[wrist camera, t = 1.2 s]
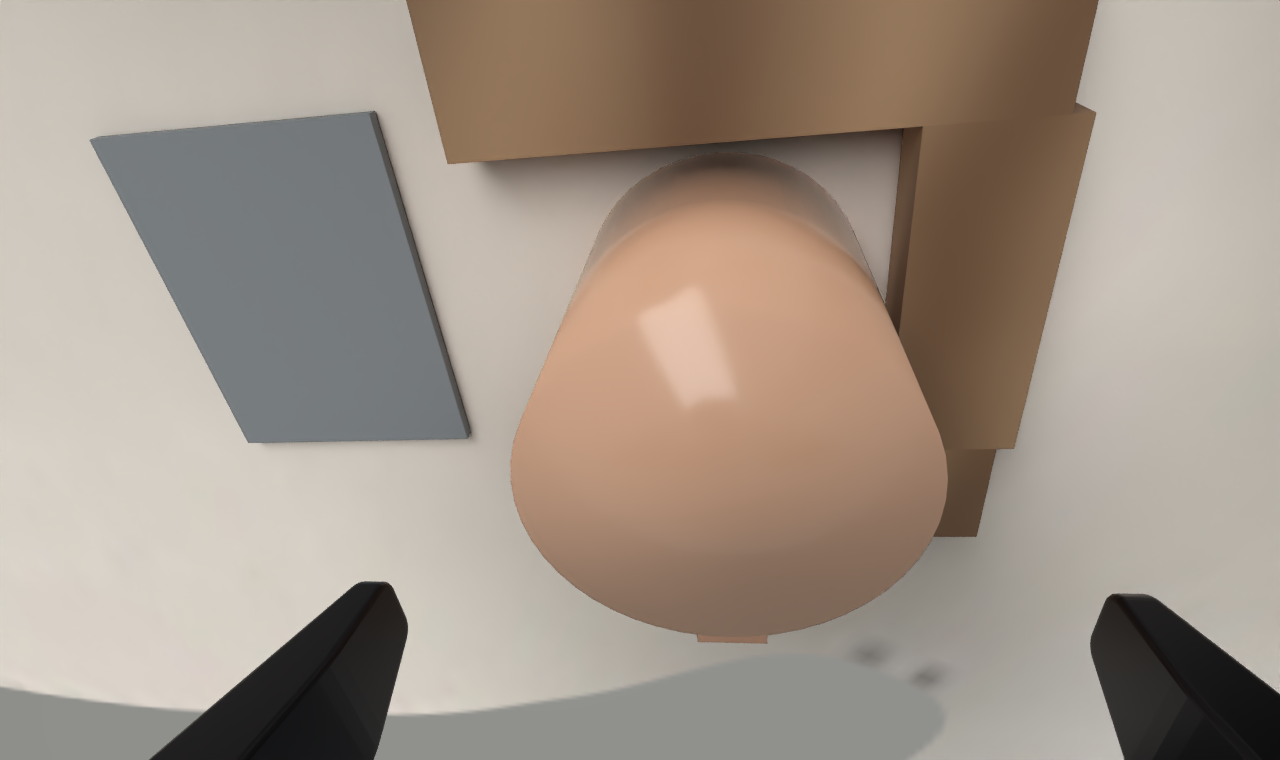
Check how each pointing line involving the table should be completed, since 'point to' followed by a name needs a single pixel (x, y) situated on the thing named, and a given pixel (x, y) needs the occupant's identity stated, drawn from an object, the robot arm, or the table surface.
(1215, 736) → the robot arm
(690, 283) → the peach rounded canister
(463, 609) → the table surface
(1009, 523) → the table surface
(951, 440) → the brown u-shaped piece
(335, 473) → the table surface
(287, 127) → the mat
